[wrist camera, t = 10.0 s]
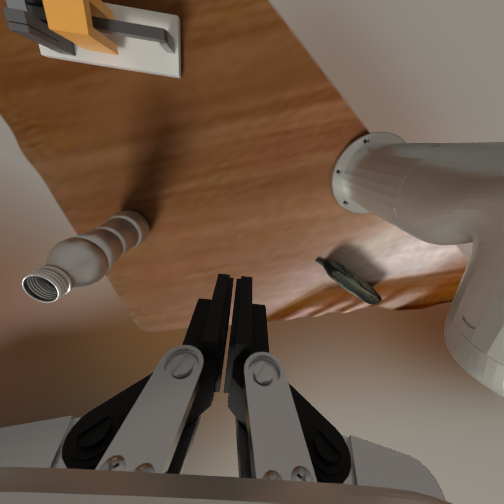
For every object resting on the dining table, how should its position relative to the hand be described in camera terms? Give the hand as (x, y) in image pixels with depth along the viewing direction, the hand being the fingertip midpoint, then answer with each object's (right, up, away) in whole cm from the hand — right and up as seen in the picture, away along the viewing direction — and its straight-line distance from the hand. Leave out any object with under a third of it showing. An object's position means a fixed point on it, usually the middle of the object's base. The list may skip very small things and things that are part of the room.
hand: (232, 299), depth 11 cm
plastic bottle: (-21, +8, +29) cm, 37 cm away
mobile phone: (+21, -2, +34) cm, 40 cm away
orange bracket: (-18, +30, +15) cm, 38 cm away
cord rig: (-18, +31, +17) cm, 39 cm away
